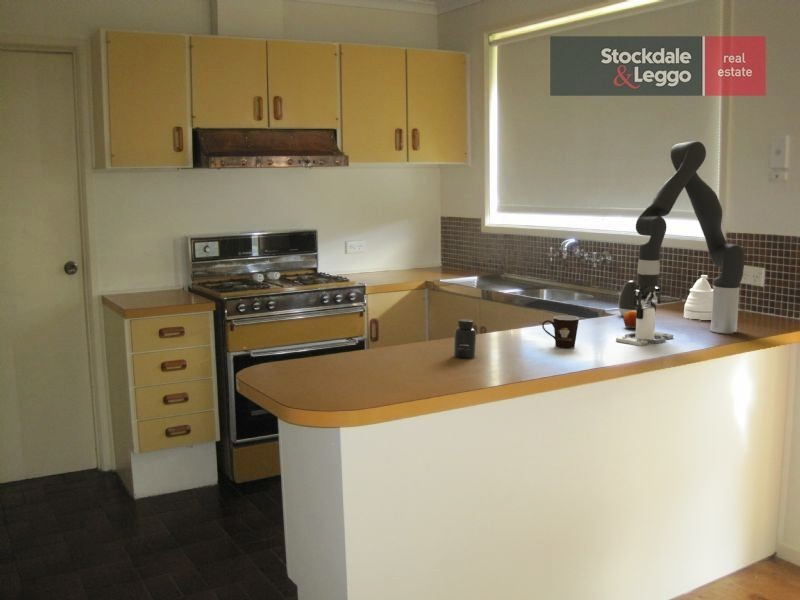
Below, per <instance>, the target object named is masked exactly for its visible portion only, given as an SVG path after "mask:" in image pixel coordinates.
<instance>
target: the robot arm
mask: <svg viewBox="0 0 800 600" xmlns="http://www.w3.org/2000/svg"><path fill="white" fill-rule="evenodd" d="M706 156H707V149H706V147H705V145H704V144H703V142H701V141H698V140H696V141H695V140H694V141H686V142H680V143H677V144H674V145H673V146H672V147H671V150H670V161H671V164H672V165H673V167H674V170H675V171H676V172H674V174H672V175H671V177H670V178H669V179H668V180H667V181H665V182H664V183H663V184H662V186H661V187H660V188H659V189H658V191H657V193H656V194H655V196H654V198H653V200H652V202H651V203H650V205H648V207H646V209H644V211H643V212H642V213H641V214H640V215H639V216H638V218H637V220H636V222H635V230H636V232H637V234H638V235H641V236H647V237H648V236H649V240H648V241H647V242H642V243H640V245H639V249H638V252H639V253H638V263H637V275H636V282H637V285H638V286H640V290H634V298H633V307H636V308H637V315H636V318H637V319H643V307H644V306H646V305H647V303H649V306H652V307H655V308H654V309H655V312H656V314H657V307H658V305H659V304H661V291H662V290H661V287H659V286H660V285H659V284H660V270H661V269H660V267H661V266H660V265H661V263H660V258H661V248H662V244H663V240H664V238H665V235H666V232H667V222H666V220H665V219H664V217H666V216H667V215H669V214H670V213H671V211H672V209H673V208H674V205H675V204H676V201H677V200H678V198H679V196H680V194H681V193H682V191H683V190H684V189H685V192H686V193H687V196H688V199H689V200H690V203H691V207H692V209H693V211H694V213H695V217H696V218H697V221H698V224H699V225H700V228H701V232H702V233H703V235H704V238H705V243H706V245H707V250H708V252H709V253H708V254H709V258H710V260H711V262H712V263H713V265H714V266H716V267H717V268H721V274H720V275H719V276H717V277H715V278H713V283H712V284H713V286H712V287H713V288H712V289H713V299H712V314H711V321H710V328H709V329H710V331H711V332H714V333H717V334H734V333H733V332H736V333H737V331H736V330H737V329H738V315H739V299H740V286H741V285H740V284H741V282H742V281H743V278H744V277H743V276H744V268H745V259H746V257H745V251H744V249H743V247H742V246H741V245H738V244H733V243H728V242H727V240H726V239H725V236H724V232H723V231H722V230H723V229H722V221H723V209H722V205H721V203H720V199H719V197H718V195H717V193H716V192H715V191H714V190H713V189H712V187H711V186H710V185H708V183H707V182H705V181H704V180H703V179H702V178H701V177H700V175H699V173H697V171H698V170H699V169H700V168H701V166H702V165H703V163H704V162H705V159H706ZM637 296H638V297H637ZM641 299H642V300H641ZM636 300H637V304H636ZM641 303H642V304H641ZM656 314H655V317H656V316H657V315H656Z"/></svg>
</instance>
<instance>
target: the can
mask: <svg viewBox="0 0 800 600" xmlns="http://www.w3.org/2000/svg"><path fill="white" fill-rule="evenodd" d="M654 308H655V307H652V306H651V305H644V307H643V319H637V318H636V328H635V333H636V337H634V338H637V339H650V340H655V338H654V333H655V332H656V331H655V328H656V316H655V314H657V311H656V312H655V309H654Z"/></svg>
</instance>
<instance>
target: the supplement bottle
mask: <svg viewBox="0 0 800 600" xmlns="http://www.w3.org/2000/svg"><path fill="white" fill-rule="evenodd" d="M457 323H458V324H457V326H458V327H457V328H456V329H455V330H454V342H453V343H454V344H453V356H454V358H457V359H461V360H462V359H464V360H468V359H469V360H470V359H474V358H475V356H476V342H477V341H476V340H477V339H476V338H477V330H476V329H474V328H473V327H474V320H473V319H468V318H467V319H466V318H462V319H458V321H457Z"/></svg>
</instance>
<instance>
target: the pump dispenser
mask: <svg viewBox="0 0 800 600" xmlns="http://www.w3.org/2000/svg"><path fill="white" fill-rule="evenodd" d="M634 290H640V286H638V285H637V280H633V279H629V280H627V281H626V282H625V283H624V285H623V287H622V289H621V291H620V294H619V297H618V304H617V308H618V311H619V313H620V315H621V316H623V317H624V315H625V313H626V312H629V311H637V308H636V307H633V298H634ZM637 297H638V296H637ZM641 300H642V299H641ZM636 304H637V300H636ZM641 304H642V303H641Z"/></svg>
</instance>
